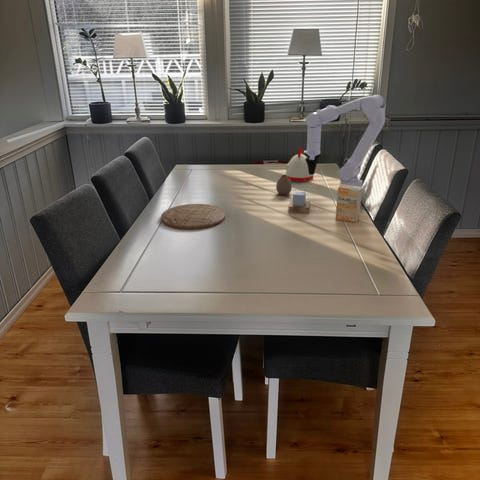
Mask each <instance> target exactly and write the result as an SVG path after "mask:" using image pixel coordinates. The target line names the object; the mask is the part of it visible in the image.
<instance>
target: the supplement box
mask: <svg viewBox="0 0 480 480" xmlns="http://www.w3.org/2000/svg"><path fill="white" fill-rule="evenodd" d="M336 194H337V198H336V207H335V208H336V210H335V216H334V217H335V218H334V219H335V220H337V221H344V222H352V223H357V222H358V220H359V218H360V211H361V203H362V197H361V195H362V196H363V186H362V187H357V186H351V185H344V184H341V185H340V184H339V186H338V187H337V193H336Z"/></svg>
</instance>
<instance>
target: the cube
mask: <svg viewBox="0 0 480 480" xmlns="http://www.w3.org/2000/svg"><path fill="white" fill-rule="evenodd" d="M306 196H307V192H306V191H299V190H298V191H296V190H294V192H293V194H292V200H293V205H296V206H304V204H305V201H306V200H307V199H306V198H307V197H306Z"/></svg>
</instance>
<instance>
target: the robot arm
mask: <svg viewBox="0 0 480 480" xmlns="http://www.w3.org/2000/svg"><path fill="white" fill-rule="evenodd" d="M386 107H387V103H386V101H385V100H384V97H383V96H382V95H380V94H373V95H372V96H371V95H369V96H368V95H367V96H365V97H361V98H360V97H359V98H356V99H354V100H351V101H349V102H346V103H344V104H342V105H339V106H336V105H331V104H329V105H326V107H325V108H323V109H317V110H316V111H315V112H310V113H309V114H307V116H306V118H305V123H306V126H307V135H306V136H307V138H306V150H304V151H303V154H307V158H306V159H305V160H306V162H307V165H308V171H309V174H310V175H313V176H314V175H315V172H316V169H317V164H318V162H319V160H320V159H319V158H320V156H321V137H322V125H324V124H327V123H329V122H332V121H335V120H337V119H338V118H339V116H340V115H342V114H345V113H347V112H350V111H354V110H357V111H362V112H363V113H364V114H365V115H366V116H367V119H368V121H369V124H368V126H367V127H366V130H365V131H364V133H363V135H362V137H360V138H361V139H360V140H359V142H358V144H357V146H356V147H355V149H354V150H353V153H352V155H351V156H350V157H349V159H348V160H347V161H346V162H345V164H344V165H343V166H342V167H341V168H340V169H339V171H338V176H339V178H340V180H339V181H340V182H339V186H340V185H341V184H344V185H351V186H357V187H362V188H363V180H362V179H359V177H358V176H359V175H360V173H361V170H362V169H361V168H362V165H363V164H364V163H363V161H364V159H365V157H366V156H367V154H368V152H370V151H369V150H370V149H371V148H372V146H373V144H374V142H375V140H376V139H377V137H378V135H379V134H380V132H381V131H382V129H383V127H384V125H385V122H386ZM361 198H363V194H362V195H361Z"/></svg>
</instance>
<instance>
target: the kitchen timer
mask: <svg viewBox="0 0 480 480" xmlns="http://www.w3.org/2000/svg"><path fill="white" fill-rule="evenodd" d="M306 158H308V156H306V155H304V153H303V148H302V147H299V148H298V150H297V154H295V155H294V156H292V157H291V158H290V160H289V162H288V163H287V164H286V168H285V175H287V177H288V178H289V180H290V181H295V182H304V181H311V180H313V179H314V175H310V174H309V171H308V165H307V162H306V160H305V159H306Z"/></svg>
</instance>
